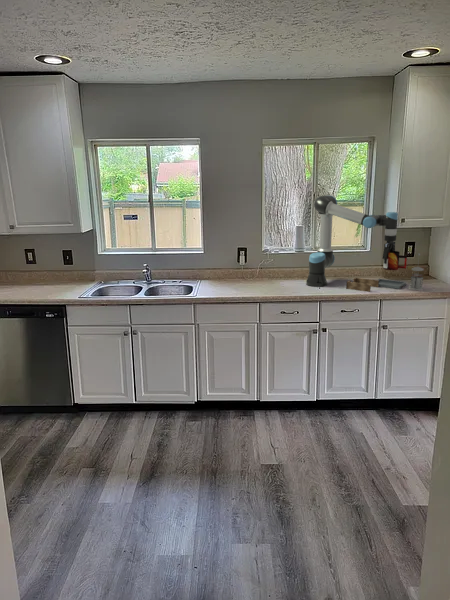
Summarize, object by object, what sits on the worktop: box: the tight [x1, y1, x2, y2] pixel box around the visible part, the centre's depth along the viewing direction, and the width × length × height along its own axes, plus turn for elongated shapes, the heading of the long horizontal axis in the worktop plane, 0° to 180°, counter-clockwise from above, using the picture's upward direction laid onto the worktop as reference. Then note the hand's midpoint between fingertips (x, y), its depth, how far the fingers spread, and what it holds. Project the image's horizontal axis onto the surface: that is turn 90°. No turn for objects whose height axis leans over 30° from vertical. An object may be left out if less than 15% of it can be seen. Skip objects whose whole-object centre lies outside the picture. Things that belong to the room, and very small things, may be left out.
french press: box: [408, 252, 425, 291], centre depth 299 cm, size 10×12×25 cm
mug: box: [383, 250, 408, 271], centre depth 299 cm, size 10×14×12 cm
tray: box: [377, 278, 407, 290], centre depth 314 cm, size 20×16×2 cm
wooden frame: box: [345, 277, 379, 293], centre depth 308 cm, size 17×16×5 cm
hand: (388, 266), depth 302 cm, fingers closed on mug, 9 cm apart
